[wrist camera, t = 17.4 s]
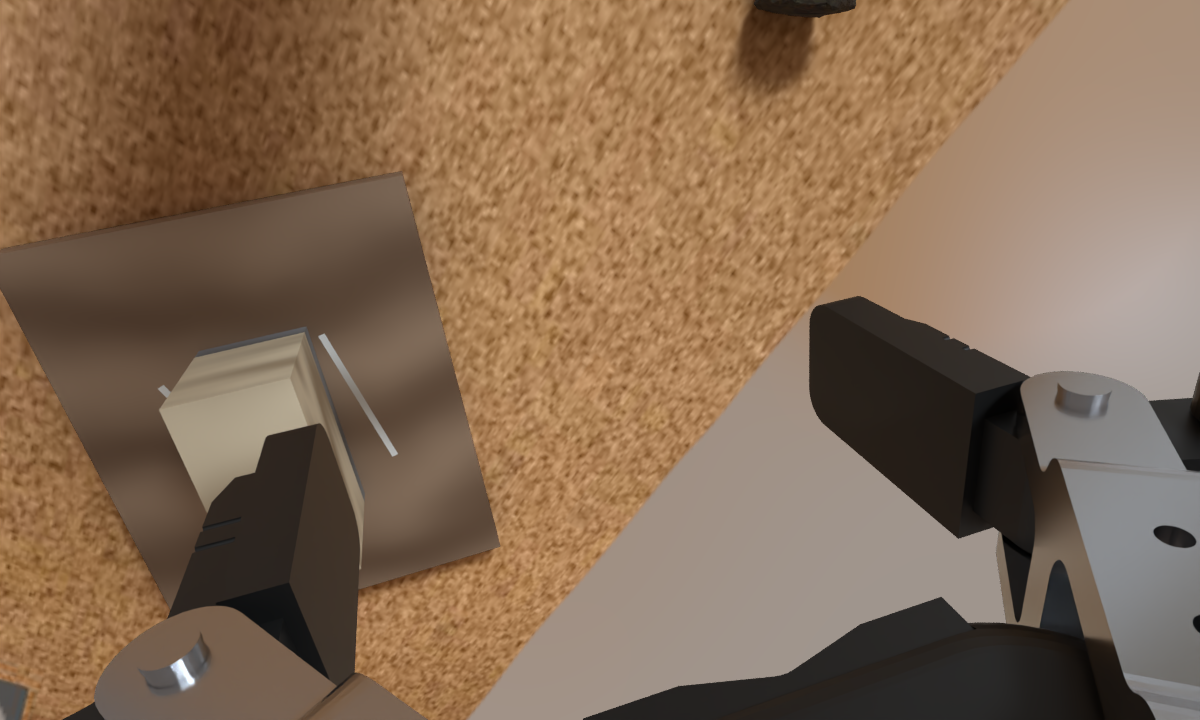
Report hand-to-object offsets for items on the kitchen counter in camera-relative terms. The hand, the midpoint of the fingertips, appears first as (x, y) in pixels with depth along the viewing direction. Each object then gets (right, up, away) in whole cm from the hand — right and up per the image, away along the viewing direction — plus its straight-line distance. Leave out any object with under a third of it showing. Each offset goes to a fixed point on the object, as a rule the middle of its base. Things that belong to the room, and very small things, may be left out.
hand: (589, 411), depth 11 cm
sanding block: (-14, -2, +21) cm, 26 cm away
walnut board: (-15, -2, +23) cm, 27 cm away
